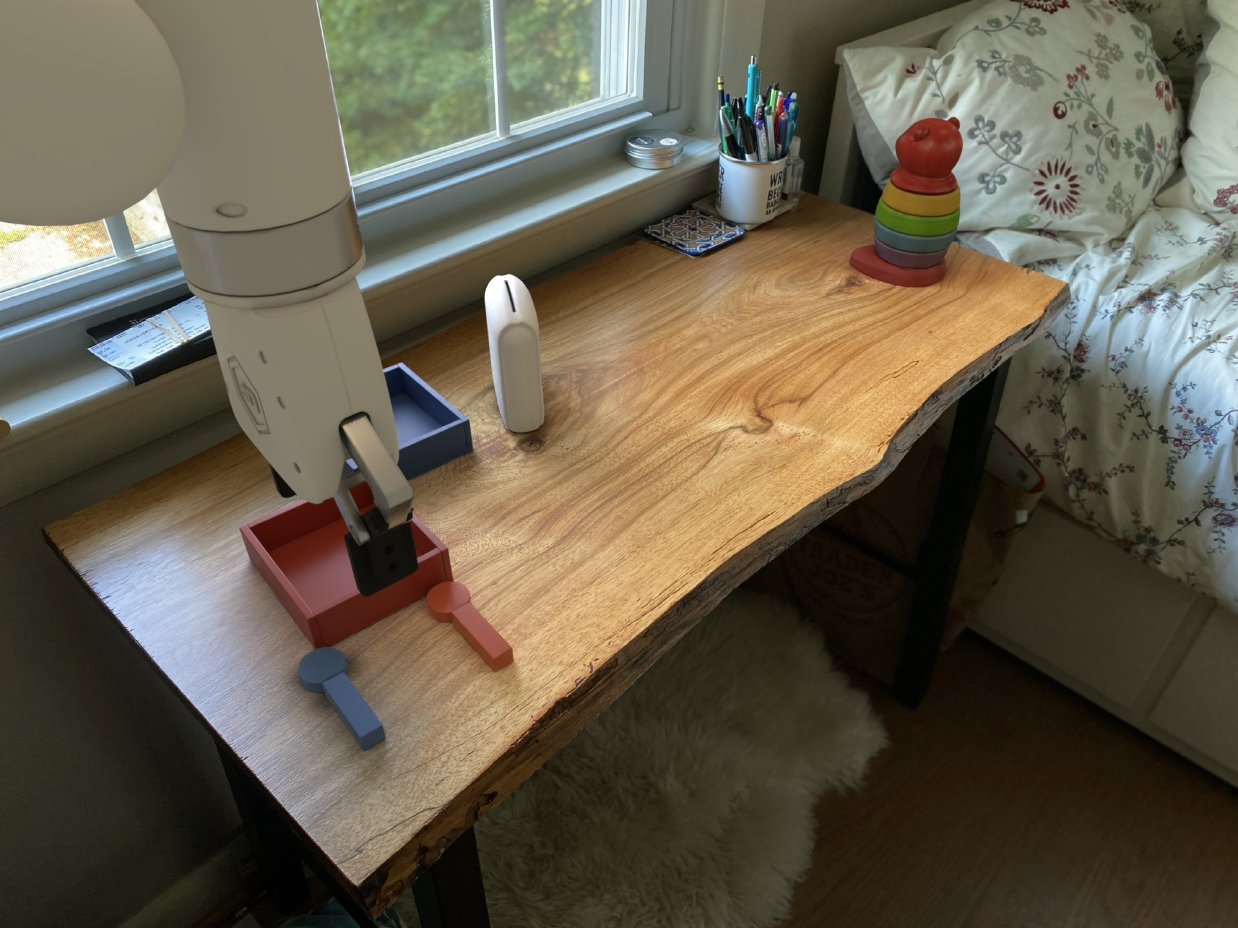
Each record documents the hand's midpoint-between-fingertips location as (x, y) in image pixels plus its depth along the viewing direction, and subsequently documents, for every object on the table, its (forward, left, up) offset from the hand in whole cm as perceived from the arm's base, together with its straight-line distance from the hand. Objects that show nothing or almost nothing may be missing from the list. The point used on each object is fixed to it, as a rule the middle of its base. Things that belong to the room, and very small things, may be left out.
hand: (345, 531), depth 50 cm
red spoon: (+8, +4, -17) cm, 20 cm away
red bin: (+4, +15, -17) cm, 23 cm away
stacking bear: (+79, +19, -18) cm, 84 cm away
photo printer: (+27, +25, -18) cm, 41 cm away
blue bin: (+14, +28, -17) cm, 36 cm away
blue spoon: (-2, +4, -17) cm, 18 cm away
